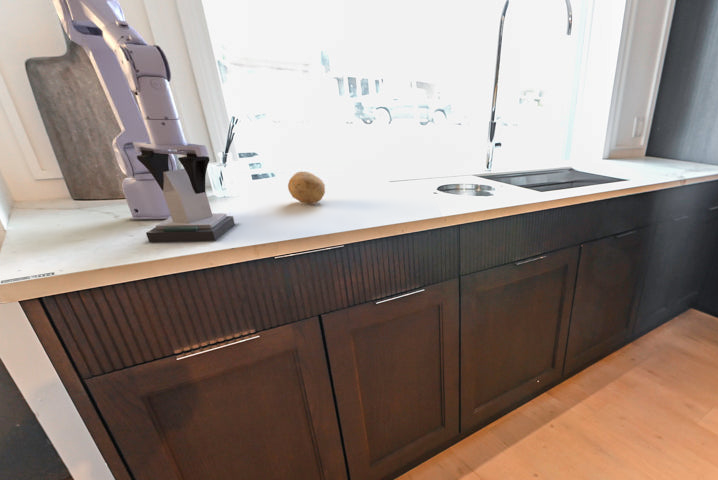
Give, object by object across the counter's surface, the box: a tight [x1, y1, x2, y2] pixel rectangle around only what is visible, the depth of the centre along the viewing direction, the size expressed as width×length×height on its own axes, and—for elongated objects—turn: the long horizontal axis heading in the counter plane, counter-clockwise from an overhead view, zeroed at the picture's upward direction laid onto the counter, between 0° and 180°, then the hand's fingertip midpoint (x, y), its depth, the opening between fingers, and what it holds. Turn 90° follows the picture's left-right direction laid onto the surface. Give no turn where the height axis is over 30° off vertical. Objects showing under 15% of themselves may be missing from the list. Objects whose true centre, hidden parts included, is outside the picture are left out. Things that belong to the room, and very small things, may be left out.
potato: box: [287, 171, 326, 205], centre depth 119 cm, size 10×14×8 cm
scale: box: [145, 212, 236, 243], centre depth 92 cm, size 12×13×3 cm
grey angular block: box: [163, 168, 213, 223], centre depth 89 cm, size 4×7×10 cm, turn 171°
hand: (184, 191), depth 89 cm, fingers open, 7 cm apart
